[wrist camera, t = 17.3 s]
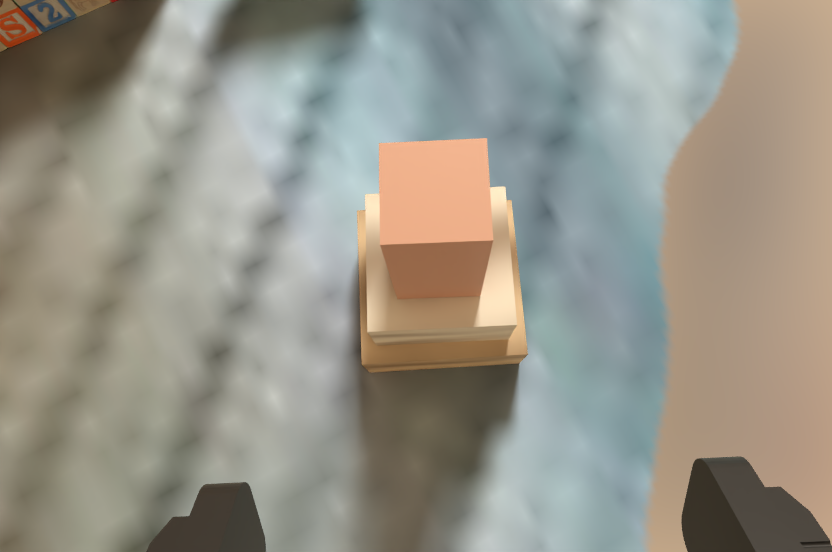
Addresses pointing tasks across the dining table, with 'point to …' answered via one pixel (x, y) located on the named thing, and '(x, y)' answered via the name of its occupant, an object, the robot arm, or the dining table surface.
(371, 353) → the oak base slab
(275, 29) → the dining table surface
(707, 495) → the robot arm
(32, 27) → the stack of blocks
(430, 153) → the terracotta block
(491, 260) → the birch top slab
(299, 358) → the dining table surface
